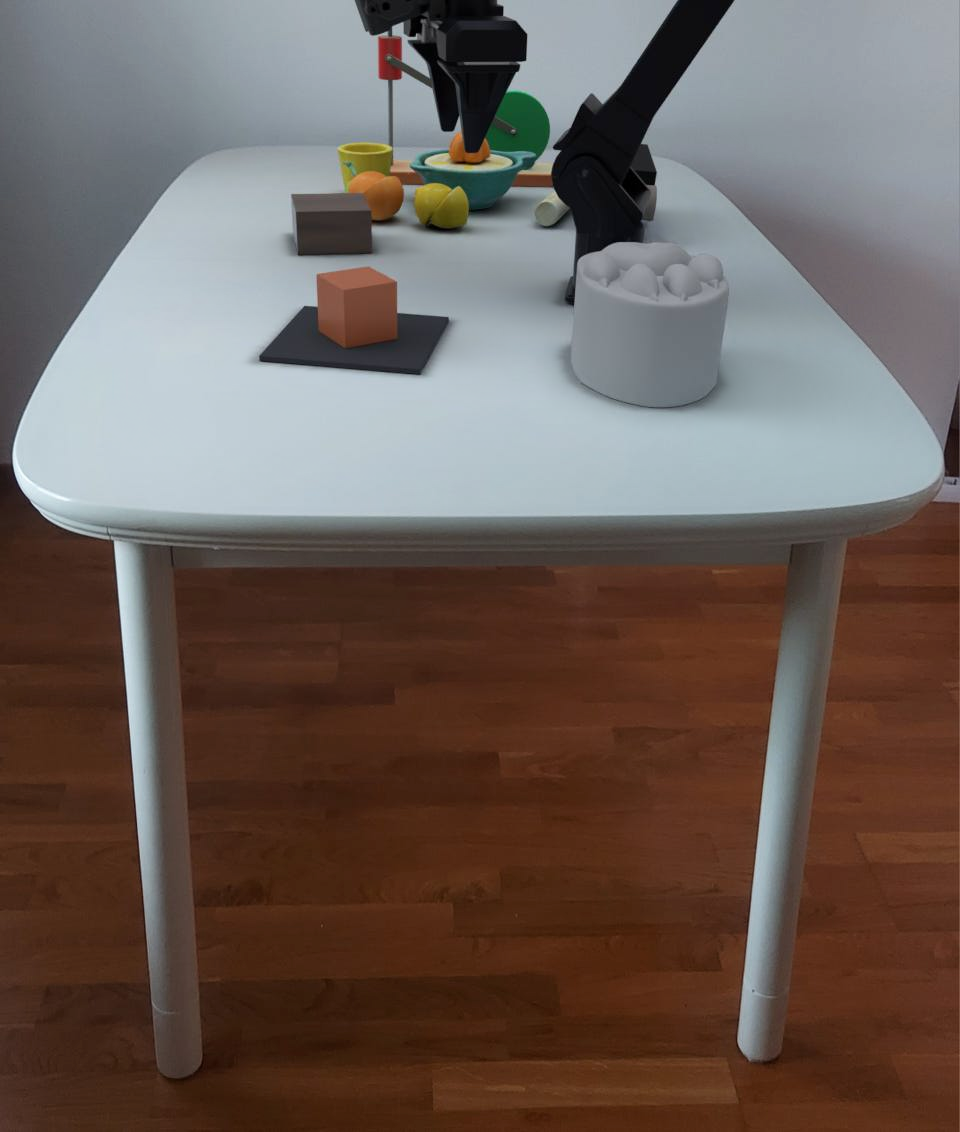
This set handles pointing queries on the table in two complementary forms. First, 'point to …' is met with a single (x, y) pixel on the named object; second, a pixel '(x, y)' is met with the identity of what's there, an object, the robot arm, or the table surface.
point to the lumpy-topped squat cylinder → (649, 323)
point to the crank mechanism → (510, 130)
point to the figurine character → (646, 177)
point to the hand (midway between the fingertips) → (459, 141)
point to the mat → (398, 355)
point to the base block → (331, 223)
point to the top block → (357, 306)
